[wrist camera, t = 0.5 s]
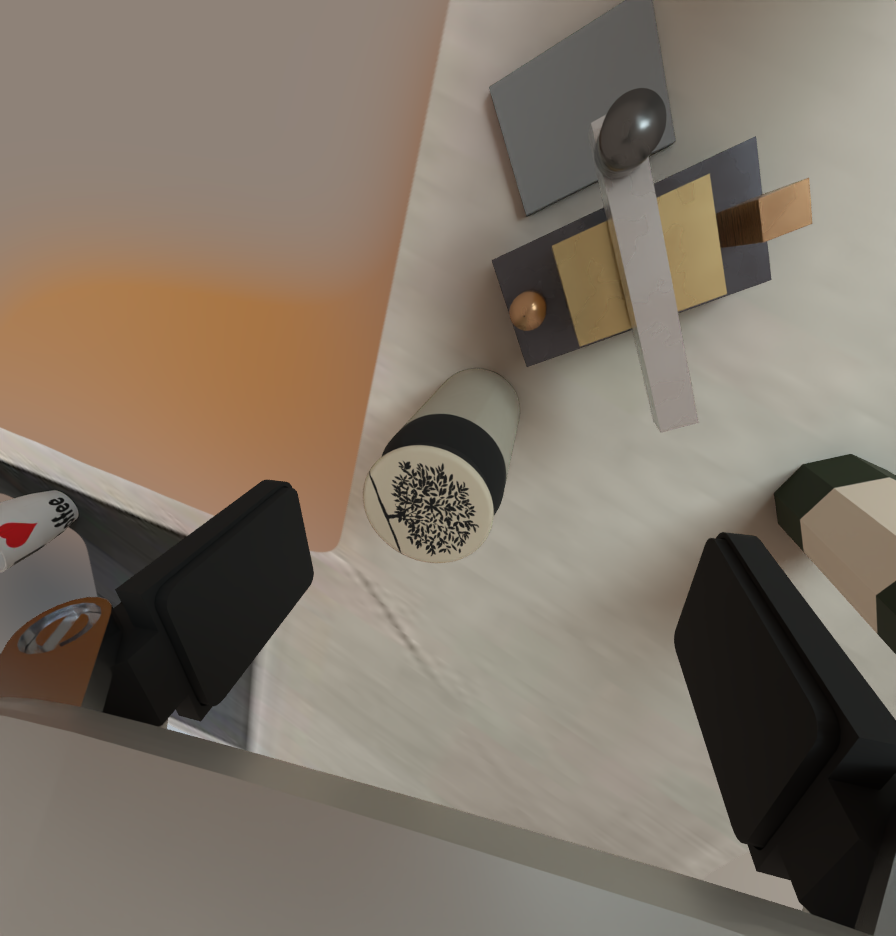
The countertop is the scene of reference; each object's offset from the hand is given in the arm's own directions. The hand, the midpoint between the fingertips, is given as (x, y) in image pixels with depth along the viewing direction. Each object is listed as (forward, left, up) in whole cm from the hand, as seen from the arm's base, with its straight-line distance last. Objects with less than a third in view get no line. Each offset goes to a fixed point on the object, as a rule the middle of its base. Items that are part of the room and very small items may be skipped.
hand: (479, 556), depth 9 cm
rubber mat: (-8, -13, -29) cm, 32 cm away
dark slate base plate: (-8, -3, -28) cm, 30 cm away
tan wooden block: (-8, -3, -25) cm, 26 cm away
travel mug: (+6, +4, -29) cm, 30 cm away
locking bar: (-8, -2, -19) cm, 21 cm away
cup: (+69, -2, -29) cm, 75 cm away
